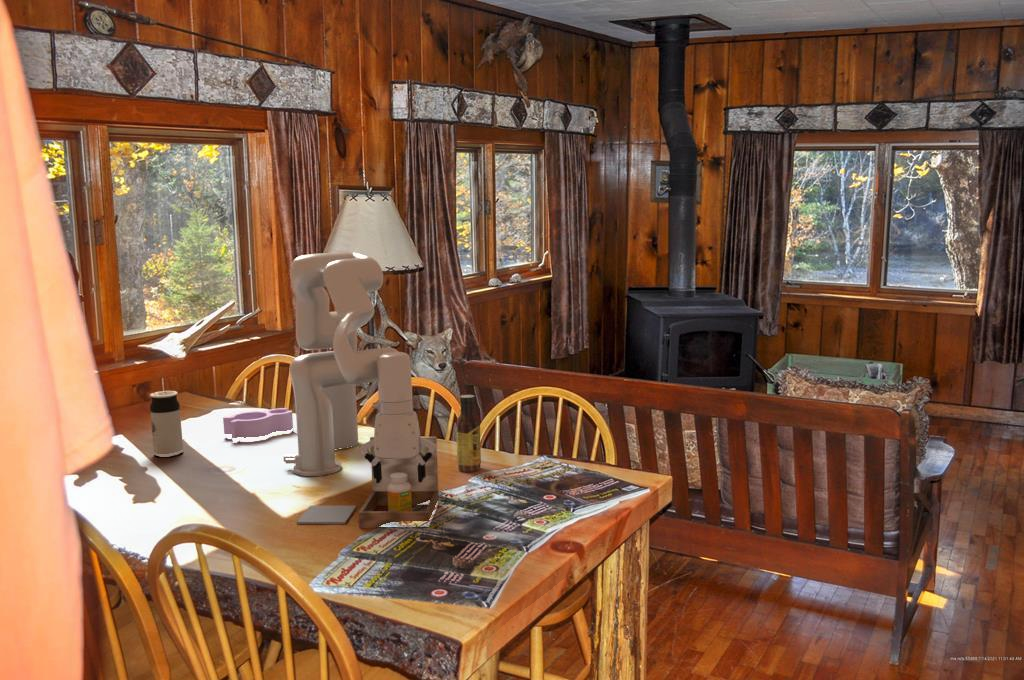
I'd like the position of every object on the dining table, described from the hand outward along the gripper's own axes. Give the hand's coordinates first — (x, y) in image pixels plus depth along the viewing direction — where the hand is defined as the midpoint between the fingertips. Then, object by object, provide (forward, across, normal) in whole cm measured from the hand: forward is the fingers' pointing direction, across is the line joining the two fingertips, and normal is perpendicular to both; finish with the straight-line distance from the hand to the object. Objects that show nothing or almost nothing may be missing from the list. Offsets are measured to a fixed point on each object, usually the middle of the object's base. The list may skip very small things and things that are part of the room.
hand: (400, 481), depth 214 cm
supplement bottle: (+8, 0, 0) cm, 9 cm away
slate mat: (+8, -17, 0) cm, 19 cm away
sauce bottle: (+8, +12, +36) cm, 39 cm away
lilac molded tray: (+7, -57, +73) cm, 93 cm away
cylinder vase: (+7, -30, +62) cm, 69 cm away
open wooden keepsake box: (+8, 0, 0) cm, 8 cm away
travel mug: (+7, -77, +52) cm, 94 cm away
